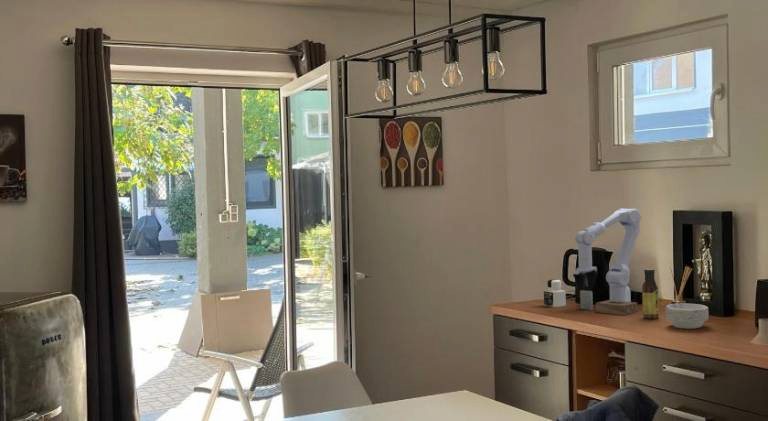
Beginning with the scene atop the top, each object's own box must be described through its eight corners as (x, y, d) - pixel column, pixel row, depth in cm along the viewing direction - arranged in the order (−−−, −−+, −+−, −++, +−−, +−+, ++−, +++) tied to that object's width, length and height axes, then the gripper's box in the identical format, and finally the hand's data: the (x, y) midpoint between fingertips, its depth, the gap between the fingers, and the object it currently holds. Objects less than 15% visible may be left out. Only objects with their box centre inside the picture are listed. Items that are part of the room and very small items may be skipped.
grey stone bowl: (706, 331, 308) (706, 309, 308) (663, 329, 315) (663, 308, 314) (710, 324, 321) (710, 303, 321) (669, 322, 328) (669, 302, 328)
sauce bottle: (659, 319, 336) (658, 270, 336) (643, 319, 338) (642, 270, 337) (658, 316, 343) (656, 268, 342) (642, 316, 344) (640, 268, 343)
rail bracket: (583, 308, 371) (582, 290, 371) (592, 309, 367) (592, 291, 367) (580, 308, 370) (580, 290, 370) (590, 309, 366) (589, 291, 366)
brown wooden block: (608, 309, 366) (608, 300, 366) (637, 311, 356) (637, 302, 356) (595, 312, 359) (595, 302, 359) (624, 315, 349) (624, 305, 349)
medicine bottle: (543, 305, 383) (543, 279, 382) (556, 304, 386) (555, 278, 385) (553, 307, 376) (552, 281, 376) (566, 306, 379) (565, 279, 379)
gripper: (586, 256, 376) (587, 286, 376) (567, 259, 366) (568, 290, 366) (600, 257, 371) (601, 287, 371) (581, 260, 361) (582, 291, 361)
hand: (586, 288), depth 368 cm, fingers open, 7 cm apart
